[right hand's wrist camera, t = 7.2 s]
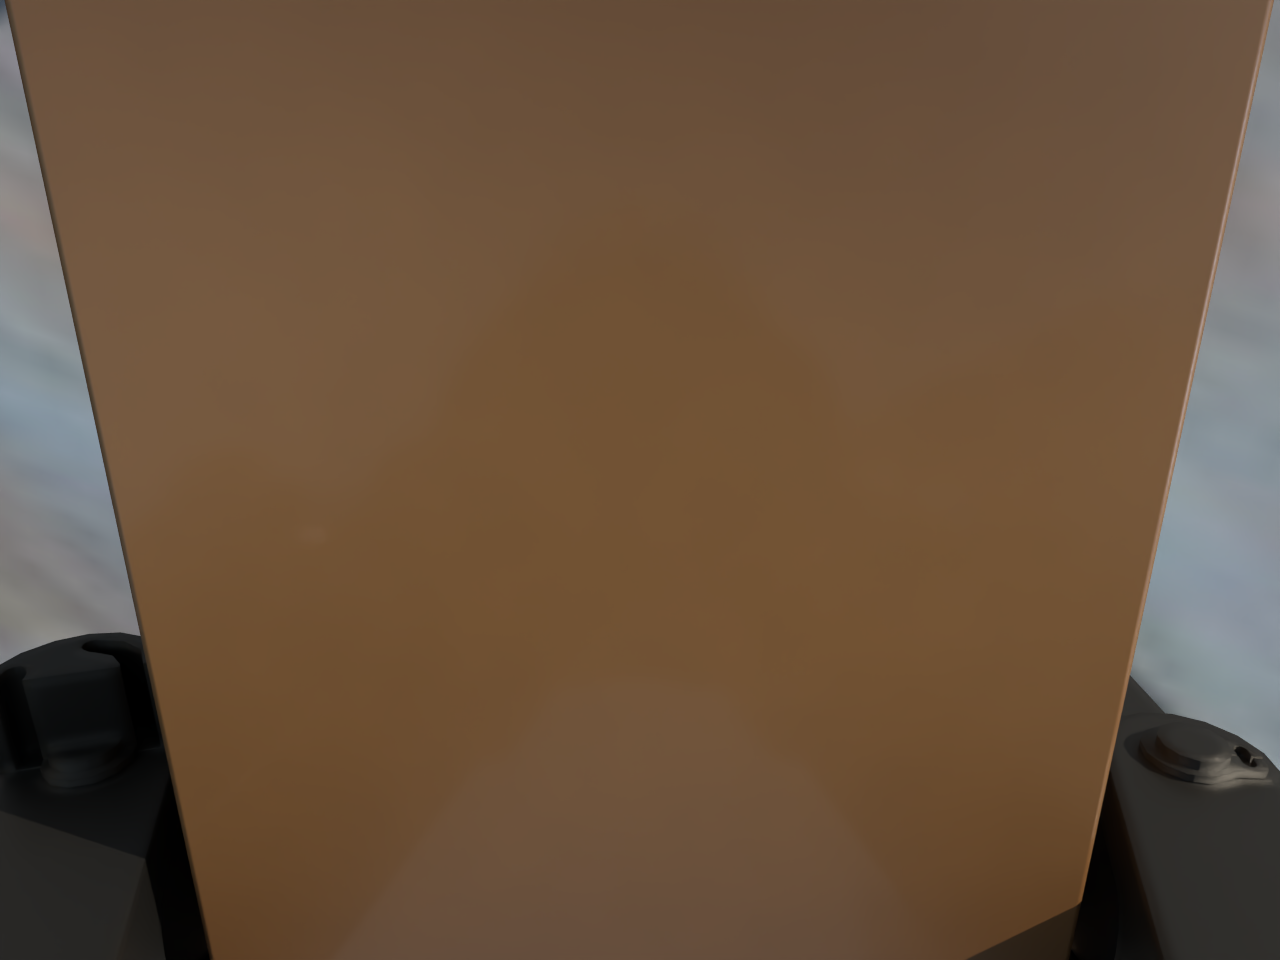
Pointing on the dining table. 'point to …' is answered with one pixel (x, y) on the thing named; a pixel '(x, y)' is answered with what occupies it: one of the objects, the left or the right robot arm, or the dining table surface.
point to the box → (639, 449)
